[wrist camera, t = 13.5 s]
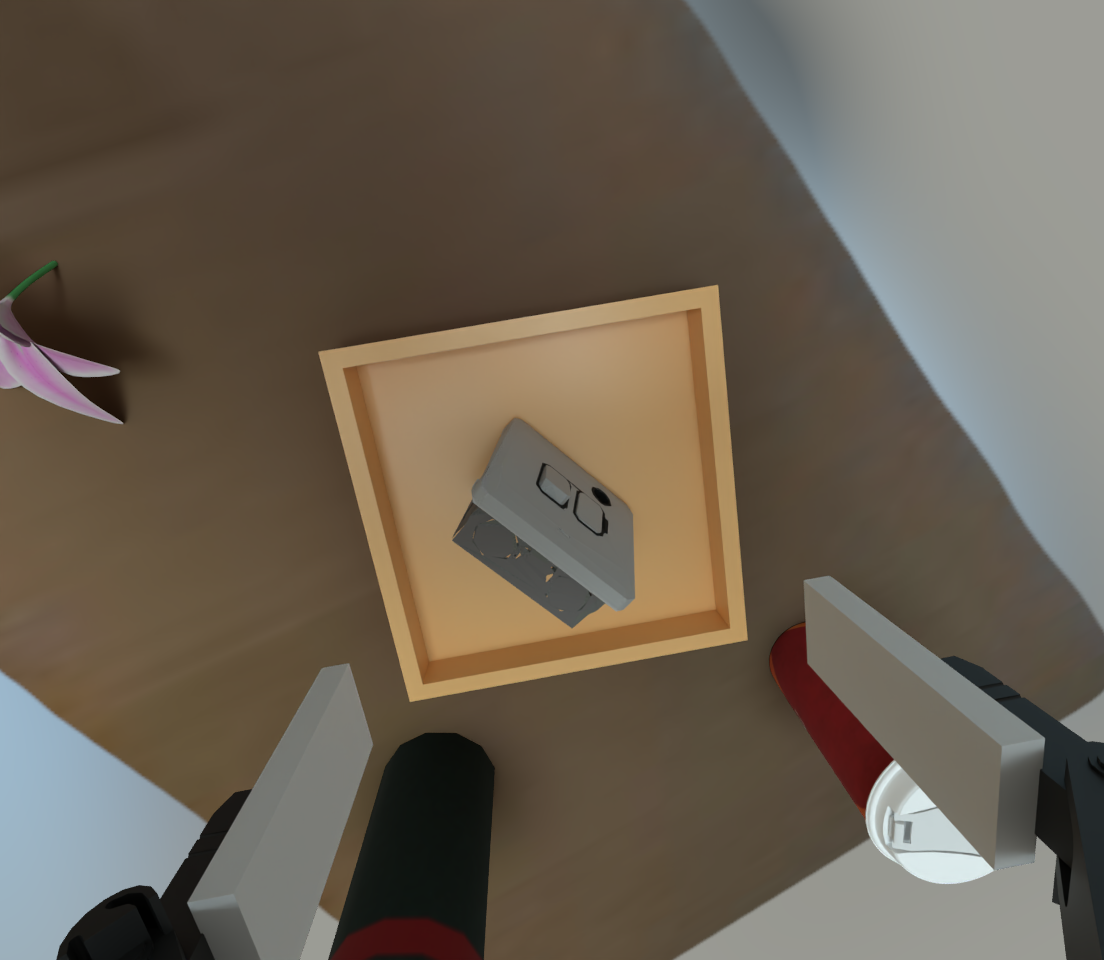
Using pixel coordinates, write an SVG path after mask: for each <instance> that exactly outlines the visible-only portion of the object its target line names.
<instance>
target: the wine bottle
mask: <svg viewBox="0 0 1104 960" xmlns="http://www.w3.org/2000/svg"><path fill="white" fill-rule="evenodd" d="M494 770H495V768H494V766H493V764H492V763H491V761H490V760H489V758H488V756H487V755H486V753H485V752H484V750H483V748H482V747H481V746H480V745H478V744H476V743H474V742H472V741H470V740H468V739H466V738H464V737H462V736H460V735H458V734H456V733H425V734H423V735H421V736H419V737H417V738H415V739H413V740H410V741H408V742H406V743H404V744H402V745H400V746H399V748H398V749H397V751H396V752H395V754H394V755H393V756H392V758H391V759H390V761H389V762H388V764H387V765H386V767H385V770H384V773H383V776H382V780H381V783H380V787H379V790H378V793H377V797H376V800H375V803H374V807H373V810H372V814H371V817H370V820H369V824H368V827H367V830H366V834H365V837H364V841H363V844H362V847H361V851H360V854H359V857H358V861H357V864H356V868H355V871H354V874H353V878H352V881H351V884H350V888H349V891H348V895H347V898H346V901H345V905H344V908H343V911H342V915H341V918H340V921H339V925H338V928H337V932H336V935H335V939H334V942H333V945H332V948H331V952H330V955H329V959H328V960H484V945H485V928H486V910H487V893H488V876H489V859H490V841H491V824H492V807H493V790H494Z"/></svg>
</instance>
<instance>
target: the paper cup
mask: <svg viewBox="0 0 1104 960" xmlns="http://www.w3.org/2000/svg"><path fill="white" fill-rule="evenodd" d="M769 664H770V670H771V673H772V675H773V677H774V679H775V681H776V683H777V684H778V686H779V688H780V689H781V691H782V692H783V694H784V696H785V697H786V699H787V700H788V702H789V703H790V705H791V706H792V708H793V710H794V711H795V713H796V714H797V716H798V717H799V719H800V720H801V722H802V723H803V725H804V727H805V728H806V730H807V731H808V733H809V734H810V736H811V737H812V739H813V740H814V742H815V743H816V745H817V746H818V748H819V749H820V751H821V753H822V754H823V756H824V757H825V759H826V760H827V762H828V763H829V765H830V766H831V768H832V769H833V771H834V772H835V774H836V775H837V777H838V778H839V780H840V781H841V783H842V784H843V786H844V788H845V789H846V791H847V792H848V794H849V795H850V797H851V798H852V800H853V801H854V803H855V804H856V806H857V807H858V809H859V810H860V812H861V813H862V815H863V816H864V818H865V820H866V826H867V830H868V834H869V836H870V838H871V840H872V842H873V843H874V844H875V846H876V847H877V848H878V850H879V851H880V852H881V853H883V854H884V855H885V856H886V857H888V858H889V859H891V860H893V861H894V862H896V863H898V864H900V865H901V866H903V868H904V869H906V870H907V871H908V872H909V873H911V874H913V875H915V876H916V877H918V878H920V879H923V880H926V881H929V882H933V883H941V884H954V883H962V882H966V881H971V880H974V879H977V878H980V877H982V876H984V875H986V874H989V873H991V872H992V871H994V870H993V869H992V867H991V866H990V865H989V864H988V863H987V862H986V861H985V860H984V859H983V857H982V856H981V855H980V854H979V853H978V852H977V851H976V850H975V849H974V847H973V846H972V845H971V844H970V843H969V842H968V841H967V840H966V839H965V838H964V836H963V835H962V834H961V833H960V832H959V831H958V830H957V829H956V828H955V826H954V825H953V824H952V823H951V822H950V821H949V820H948V819H947V818H946V816H945V815H944V814H943V813H942V812H941V811H940V810H939V809H938V808H937V806H936V805H935V804H934V803H933V802H932V801H931V800H930V799H929V798H928V796H927V795H926V794H925V793H924V792H923V791H922V790H921V789H920V788H919V787H918V785H917V784H916V783H915V782H914V781H913V780H912V779H911V778H910V777H909V775H908V774H907V773H906V772H905V771H904V770H903V769H902V768H901V767H900V765H899V764H898V763H897V762H896V761H895V760H894V759H893V758H892V757H891V755H890V754H889V753H888V752H887V751H886V750H885V749H884V748H883V747H882V746H881V744H880V743H879V742H878V741H877V740H876V739H875V738H874V737H873V736H872V734H871V733H870V732H869V731H868V730H867V729H866V728H865V727H864V726H863V724H862V723H861V722H860V721H859V720H858V719H857V718H856V717H855V716H854V714H853V713H852V712H851V711H850V710H849V709H848V708H847V707H846V706H845V705H844V703H843V702H842V701H841V700H840V699H839V698H838V697H837V696H836V695H835V693H834V692H833V691H832V690H831V689H830V688H829V687H828V686H827V685H826V683H825V682H824V681H823V680H822V679H821V678H820V677H819V676H818V675H817V673H816V672H815V671H814V670H813V669H812V668H811V667H810V666H809V665H808V663H807V642H806V622H804V623H800V624H797V625H795V626H793V627H791V628H789V629H788V630H786V631H785V632H784V633H783V634H782V635H781V636H780V637H779V638H778V639H777V641H776V642H775V644H774V645H773V648H772V650H771V653H770V659H769Z"/></svg>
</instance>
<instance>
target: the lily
mask: <svg viewBox="0 0 1104 960" xmlns="http://www.w3.org/2000/svg"><path fill="white" fill-rule="evenodd" d="M57 265H58V263H57V262H56V261H51V262H50V263H48V264H47V265H45V266H44V267H42V268H41V269H39V270H38V271H36V272H35V273H34V274H32V275H31V276H29V277H28V278H27V279H25V280H24V281H23V282H22V283H20V284H19V285H18V286H17V287H16V288H15V289H14V290H12V291H11V292H10V293H9V294H8V295H7V296H6V297H5V298H4V299H2V300H1V301H0V387H1V388H5V389H10V388H16V387H19V386H21V385H22V386H23V387H24V388H26V389H27V390H29V391H31V392H32V393H34V394H35V395H37V396H38V397H40V398H43V399H45V400H47V401H49V402H51V403H54V404H56V405H58V406H61V407H63V408H66V409H69V410H72V411H75V412H78V413H80V414H84V415H87V416H90V417H94V418H97V419H100V420H104V421H108V422H112V423H119V424H123V422H121V421H120V420H118V419H117V418H115V417H114V416H112V415H110V414H109V413H107V412H105V411H104V410H102V409H101V408H99V407H98V406H96V405H95V404H93V403H92V402H91V401H89V400H88V399H87V398H86V397H85V396H83V395H82V394H81V393H80V392H79V391H78V390H77V389H76V388H75V387H74V386H73V385H72V384H71V383H69V382H68V381H67V380H66V379H65V377H64V376H63V375H62V374H61V373H60V372H59V371H61V372H63V373H66V374H69V375H72V376H79V377H101V376H110V375H114V374H118V373H119V372H120V370H118V369H115V368H113V367H109V366H106V365H102V364H99V363H95V362H92V361H89V360H85V359H82V358H79V357H75V356H72V355H69V354H66V353H62V352H59V351H56V350H53V349H50V348H47V347H44V346H41V345H38V344H36V343H35V342H33V341H32V340H31V339H30V337H29V336H28V335H27V334H26V332H25V331H24V330H23V328H22V327H21V326H20V324H19V323H18V321H17V320H16V319H15V317H14V315H13V313H12V311H11V305H12V303H13V302H14V300H15V299H16V298H17V297H18V296H19V295H20V294H21V293H22V292H23V291H24V290H25V289H26V288H27V287H28V286H30V285H31V284H32V283H33V282H35V281H36V280H37V279H39V278H40V277H42V276H43V275H44V274H46V273H47V272H49V271H50V270H52V269H53V268H55V267H56V266H57ZM32 343H33V344H32ZM57 369H58V370H59V371H58V370H57Z"/></svg>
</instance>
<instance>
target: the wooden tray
mask: <svg viewBox="0 0 1104 960" xmlns="http://www.w3.org/2000/svg"><path fill="white" fill-rule="evenodd" d="M318 353H319V357H320V360H321V364H322V368H323V372H324V376H325V379H326V383H327V387H328V391H329V395H330V398H331V402H332V406H333V410H334V414H335V418H336V421H337V425H338V429H339V433H340V437H341V440H342V444H343V448H344V452H345V456H346V459H347V463H348V467H349V471H350V475H351V479H352V482H353V486H354V490H355V494H356V498H357V501H358V505H359V509H360V513H361V517H362V520H363V524H364V528H365V532H366V536H367V540H368V543H369V547H370V551H371V555H372V559H373V562H374V566H375V570H376V574H377V578H378V581H379V585H380V589H381V593H382V597H383V600H384V604H385V608H386V612H387V616H388V620H389V623H390V627H391V631H392V635H393V639H394V642H395V646H396V650H397V654H398V658H399V661H400V665H401V669H402V673H403V677H404V681H405V684H406V688H407V692H408V696H409V700H410V702H412V701H418V700H423V699H428V698H434V697H439V696H445V695H450V694H456V693H461V692H467V691H472V690H478V689H483V688H489V687H494V686H500V685H505V684H510V683H516V682H521V681H527V680H532V679H538V678H543V677H549V676H554V675H560V674H565V673H571V672H576V671H581V670H587V669H592V668H598V667H603V666H609V665H614V664H620V663H625V662H631V661H636V660H642V659H647V658H653V657H658V656H663V655H669V654H674V653H680V652H685V651H691V650H696V649H702V648H707V647H713V646H718V645H724V644H729V643H734V642H740V641H745V640H748V639H747V627H746V615H745V603H744V591H743V579H742V567H741V555H740V543H739V531H738V519H737V507H736V495H735V483H734V471H733V459H732V447H731V435H730V423H729V411H728V399H727V387H726V375H725V363H724V351H723V339H722V327H721V315H720V303H719V291H718V285H714V286H708V287H702V288H696V289H690V290H684V291H678V292H672V293H666V294H661V295H655V296H649V297H643V298H637V299H631V300H625V301H619V302H613V303H607V304H601V305H595V306H589V307H583V308H577V309H571V310H565V311H559V312H553V313H547V314H541V315H535V316H529V317H523V318H517V319H511V320H505V321H499V322H493V323H487V324H481V325H475V326H469V327H463V328H458V329H452V330H446V331H440V332H434V333H428V334H422V335H416V336H410V337H404V338H398V339H392V340H386V341H380V342H374V343H368V344H362V345H356V346H350V347H344V348H338V349H332V350H326V351H320V352H318ZM514 418H518V419H521V420H523V421H524V422H525V423H527V424H528V425H529V426H531V427H532V428H533V429H534V430H536V431H537V432H538V433H539V434H540V435H542V436H543V437H544V438H545V439H547V440H548V441H549V442H550V443H552V444H553V445H554V446H555V447H556V448H558V449H559V450H560V451H561V452H563V453H564V454H565V455H566V456H568V457H569V458H570V459H571V460H572V461H574V462H575V463H576V464H577V465H579V466H580V467H581V468H582V469H583V470H585V471H586V472H587V473H588V474H590V475H591V476H592V477H593V478H595V479H596V480H597V481H598V482H599V483H601V484H602V485H603V486H604V487H606V488H607V489H608V490H609V491H611V492H612V493H613V494H614V495H615V496H617V497H618V498H619V499H620V500H622V501H623V502H624V503H625V504H626V505H627V506H628V507H629V509H630V510H631V512H632V513H633V533H634V574H635V599H634V600H633V601H632V602H631V603H630V604H629V605H628V606H627V607H626V608H625V609H624V610H621V611H615V610H613V609H612V608H611V607H610V606H608V605H607V604H604V605H603V606H602V607H601V608H599V609H598V610H597V611H595V612H593V613H591V614H589V615H587V616H586V617H585V618H584V619H583V620H582V621H580V622H579V623H578V624H577V625H576V626H575V627H574V628H571V627H569V626H568V625H567V624H565V623H564V622H562V621H561V620H560V619H558V618H557V617H556V616H554V615H553V614H552V613H550V612H549V611H547V610H546V609H545V608H543V607H542V606H541V605H539V604H538V603H536V602H535V601H534V600H532V599H531V598H530V597H528V596H527V595H526V594H524V593H523V592H521V591H520V590H519V589H517V588H516V587H515V586H513V585H512V584H511V583H509V582H508V581H506V580H505V579H504V578H502V577H501V576H500V575H498V574H497V573H495V572H494V571H493V570H491V569H490V568H489V567H487V566H486V565H485V564H483V563H482V562H480V561H479V560H478V559H476V558H475V557H474V556H472V555H471V554H470V553H468V552H467V551H465V550H464V549H463V548H461V547H460V546H459V545H457V544H456V543H454V542H453V541H452V540H453V538H454V537H455V536H456V535H457V534H458V532H459V531H460V530H461V529H462V528H463V527H464V526H463V527H462V528H461V529H460V530H459V531H458V532H457V533H456V535H455V536H454V537H453V535H454V533H455V531H456V529H457V527H458V525H459V523H460V522H461V520H462V518H463V516H464V514H465V512H466V510H467V508H468V506H469V504H470V502H471V500H472V486H473V485H474V483H475V482H476V480H477V479H480V478H481V477H482V475H483V473H484V471H485V469H486V467H487V465H488V462H489V460H490V458H491V456H492V454H493V452H494V449H495V447H496V445H497V443H498V441H499V439H500V437H501V434H502V431H503V429H504V428H505V427H506V426H507V425H508V424H509V423H510V422H511V421H512V420H513V419H514ZM491 520H494V519H491ZM491 520H489V521H491ZM474 532H475V531H474ZM452 537H453V538H452ZM515 537H516V536H515ZM473 538H474V535H473ZM516 542H517V543H518V540H517V537H516ZM525 548H526V547H525ZM526 549H527V548H526ZM480 552H481V551H480ZM481 553H482V552H481ZM482 555H483V554H482ZM510 555H511V554H510ZM510 555H508V556H507V557H509V556H510ZM519 556H521V554H520V553H519V555H518V556H517V557H516V558H518V557H519ZM516 558H515V559H516ZM551 568H552V567H551ZM552 576H553V574H550V575H547V576H546V582H547V581H548V580H549V579H550V578H551V577H552ZM560 611H563V610H560Z"/></svg>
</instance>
